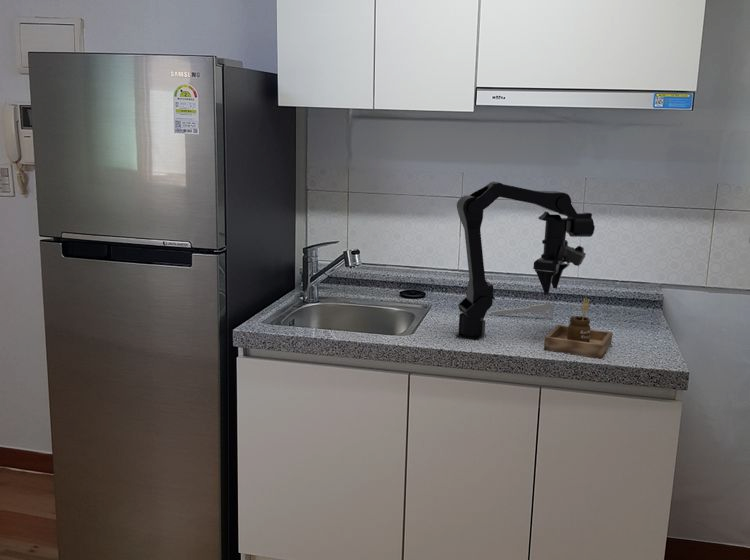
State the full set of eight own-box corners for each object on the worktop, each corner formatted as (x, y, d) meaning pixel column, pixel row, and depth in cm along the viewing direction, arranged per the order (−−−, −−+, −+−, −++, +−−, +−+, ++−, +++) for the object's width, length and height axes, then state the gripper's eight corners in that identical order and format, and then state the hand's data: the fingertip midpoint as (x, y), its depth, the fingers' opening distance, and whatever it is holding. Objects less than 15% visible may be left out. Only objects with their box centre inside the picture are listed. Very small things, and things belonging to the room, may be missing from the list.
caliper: (552, 319, 229) (554, 300, 227) (552, 320, 228) (554, 300, 226) (487, 315, 233) (488, 295, 231) (486, 315, 232) (487, 296, 230)
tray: (543, 349, 195) (544, 337, 194) (556, 336, 208) (557, 324, 207) (601, 358, 188) (602, 345, 188) (611, 344, 201) (612, 332, 201)
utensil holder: (562, 343, 198) (566, 300, 195) (573, 338, 202) (576, 296, 200) (583, 347, 194) (586, 303, 192) (593, 343, 199) (597, 300, 196)
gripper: (576, 243, 193) (571, 300, 196) (591, 235, 209) (586, 288, 212) (535, 239, 198) (530, 295, 201) (552, 232, 214) (548, 284, 217)
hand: (550, 290), depth 208 cm, fingers open, 9 cm apart
